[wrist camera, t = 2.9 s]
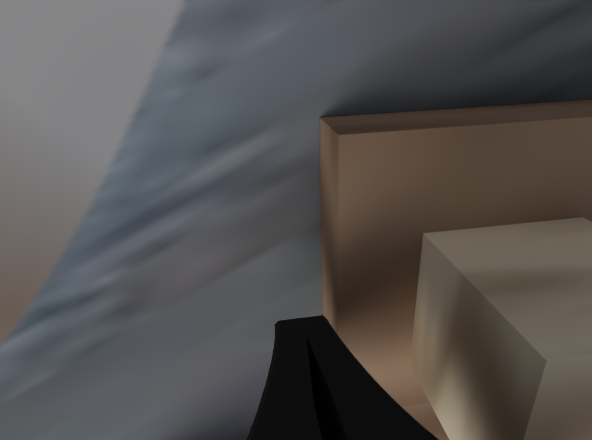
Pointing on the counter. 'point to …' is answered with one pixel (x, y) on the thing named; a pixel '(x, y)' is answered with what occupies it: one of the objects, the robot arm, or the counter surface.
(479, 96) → the counter surface
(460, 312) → the maple block
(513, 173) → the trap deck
